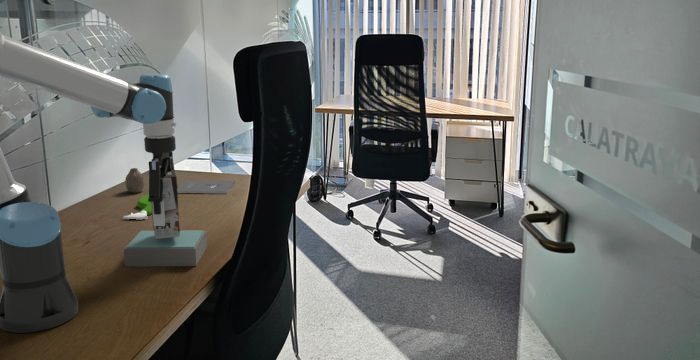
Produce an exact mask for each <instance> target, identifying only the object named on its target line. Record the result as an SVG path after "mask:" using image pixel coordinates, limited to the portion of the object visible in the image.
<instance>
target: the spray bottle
mask: <svg viewBox="0 0 700 360" xmlns="http://www.w3.org/2000/svg"><path fill="white" fill-rule="evenodd" d="M148 199H149V193H146V194H145V195H144V196H142V197H141V198H140V199H139V200H138V201H137V202H136V205H137V208H139V209H140V210H139V211H138V212H136V213H133V212H130V214H127V215H123V218H122V219H123V220H129V219H136V221H138V220H141V221H142V220H143V219H145V220H148V219H149V218H148V217H149V216H152V207H151V202H148ZM147 215H148V216H147Z"/></svg>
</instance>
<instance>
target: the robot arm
mask: <svg viewBox="0 0 700 360" xmlns="http://www.w3.org/2000/svg"><path fill="white" fill-rule="evenodd" d="M0 77H1V78H5V79H8V80H11V81H14V82H17V83H20V84H23V85H27V86H29V87H32V88H35V89H38V90H41V91H45V92H47V93H49V94H54V95H57V96H60V97H63V98H66V99H69V100H71V101H75V102H78V103H82V104H84V105H87V106H90V108H91V112H93V115H94V116H96V117H97V118H109V119H110V118H116V117H118V118H122V119H126V120H131V121H134V122H137V123H140V124H142V130H143V135H144V136H145V137H144V138H143V141H144V151H145V152H146V153H151V154H152V159H151V161H148V194H149V199H148V202H152V208H153V219H152V223H153V222H154V226H165V213H164V201H162V196H163V177H164V176H166V172H167V171H171V170H173V171H174V173H175V174H176V171H175V164H174V158H173V156H174V155H173V152H174V151H175V150H176V137H175V136H174V134H175V127H176V126H177V122H174V121H175V119H174V118H175V117H174V103H173V93H174V91H173V85H172V80H171V77H170V76H169V75H168V74H165V73H144V74H141V75H140V76H139V80H138V83H137V82H136V83H131V82H127V81H126V80H123V79H120V78H118V77H115V76H113V75H110V74H108V73H104V72H103V71H102V72H101V71H100V70H97V69H94V68H91V67H90V66H86V65H83V64H81V63H79V62H75V61H73V60H70V59H68V58H65V57H62V56H60V55H57V54H54V53H52V52H49V51H47V50H44V49H41V48H39V47H37V46H33V45H30V44H28V43H25V42H23V41H20V40H18V39H16V38H12V37H10V36H7V35H5V34H3V33H2V31H0ZM160 178H162V179H161V180H160ZM178 186H179V185H178V184H177V188H178ZM62 238H63V237H62V223H61V220H60V217H59V213H58V211H57V209H56V208H55V207H54V206H51V205H50V204H46V203H45V202H44V203H43V202H41V203H40V202H36V201H32V199H31V196H30V194H29V191H28V189H27V187H26V184H22V183H20V182H18V181H15V179H14V176H13V174H12V171H11V169H10V167H9V164H8V161H7V160H6V157H5V155H4V152H3V150H2V147H1V146H0V276H1V277H0V278H1V281H2V282H1V284H2V289H1V294H0V329H1V330H2V331H5V332H9V333H16V334H18V333H19V334H25V333H26V334H27V333H35V332H41V331H46V330H49V329H53V328H56V327H59V326H60V325H63V324H65V323H67V322H68V321H70V320H72V319H73V318H75V317H76V316H77V314H78V312H79V309H80V308H79V300H78V298H77V295H76V293H75V291H74V289H73V287H72V285H71V283H70V281H69V280H68V277H67V275H66V266H65V256H64V249H63V241H62Z"/></svg>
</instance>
